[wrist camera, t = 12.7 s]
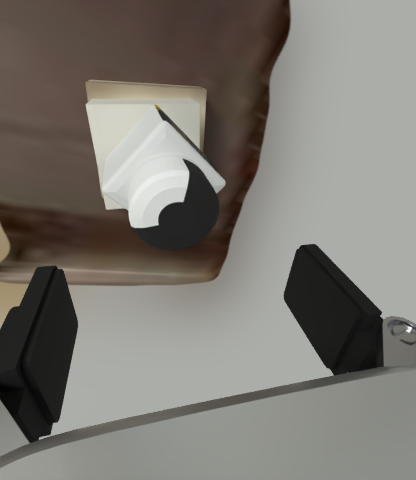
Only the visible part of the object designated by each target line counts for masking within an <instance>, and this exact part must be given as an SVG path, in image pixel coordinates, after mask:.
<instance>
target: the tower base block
mask: <svg viewBox="0 0 416 480" xmlns="http://www.w3.org/2000/svg"><path fill="white" fill-rule="evenodd" d="M85 84H86V90H87V97H88V102H89V101H90V100H91V99H192V100H194V101H196V102H197V103H199V104H200V150H201V151H202V152H203V145H204V128H205V110H206V92H207V89H204V88H202V87H196V86H181V85H165V84H149V83H133V82H118V81H102V80H89V81H86V82H85ZM97 166H98V165H97ZM98 173H99V170H98ZM99 180H100V176H99ZM100 187H101V194H102V198H104V196H103V192H102V186H101V181H100Z"/></svg>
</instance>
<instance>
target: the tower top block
mask: <svg viewBox="0 0 416 480" xmlns="http://www.w3.org/2000/svg"><path fill="white" fill-rule="evenodd" d="M153 105H157V106H159V107H160V108H161V109H162V110H163V111H164V113H165V114H166V115H167V116H168V117H169V118H170V119H171V120H172V121H173V122H174V123H175V124H176V125H177V126H178V127H179V128H180V129H181V130H182V131H183V132H184V133H185V134H186V135H187V137H188V138H189V139H190V140H191V141H192V142H193V143H194V144H195V145H196V146H197V147H198V148H199V149H200V104H199V103H197V102H196V101H194V100H192V99H91V100H90V101H89V102H88V103H87V104H86V109H87V114H88V119H89V124H90V130H91V135H92V140H93V145H94V150H95V155H96V160H97V165H98V170H99V176H100V181H101V186H102V182H103V174H104V166H105V160H106V158H107V157H108V156H109V155H110V154H111V152H112V151H113V150H114V149H115V148H116V147H117V146H118V144H119V143H120V142H121V141H122V140H123V139H124V137H125V136H126V135H127V134H128V133H129V132H130V131H131V129H132V128H133V127H134V126H135V125H136V124H137V123H138V121H139V120H140V119H141V118H142V117H143V116H144V115H145V113H146V112H147V111H148V110H149V109H150V108H151V107H152V106H153ZM103 196H104V201H105V206H106V210H108V209H121V208H124V207H122V206H121V205H119V204H118V203H116V202H115V201H114V200H112V199H111V198H109V197H108V196H106V195H105V194H104V193H103Z"/></svg>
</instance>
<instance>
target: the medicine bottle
mask: <svg viewBox="0 0 416 480" xmlns="http://www.w3.org/2000/svg"><path fill="white" fill-rule="evenodd" d="M224 186H225V180H224V179H223V177H222V176H221V175H220V174H219V172H218V171H217V170H216V168H215V167H214V166H213V164H212V163H211V162H210V160H209V159H208V158H207V157H206V155H205V154H204V153H203V152H202V151H201V150H200V149H199V148H198V147H197V146H196V145H195V144H194V143H193V142H192V141H191V140H190V139H189V138H188V137H187V135H186V134H185V133H184V132H183V131H182V130H181V129H180V128H179V127H178V126H177V125H176V124H175V123H174V122H173V121H172V120H171V119H170V118H169V117H168V116H167V115H166V114H165V113H164V111H163V110H162V109H161V108H160V107H159V106H157V105H153V106H152V107H151V108H150V109H149V110H148V111H147V112H146V113H145V115H144V116H143V117H142V118H141V119H140V120H139V121H138V123H137V124H136V125H135V126H134V127H133V128H132V129H131V131H130V132H129V133H128V134H127V135H126V136H125V137H124V139H123V140H122V141H121V142H120V143H119V144H118V146H117V147H116V148H115V149H114V150H113V151H112V152H111V154H110V155H109V156H108V157H107V158H106V160H105V166H104V174H103V182H102V192H103V193H104V194H105V195H106V196H108V197H109V198H111V199H112V200H114V201H115V202H116V203H118V204H119V205H121V206H122V207H124V208H125V209H126V210H128V211H129V221H130V224H131V227H132V229H133V231H134V232H135V234H136V235H137V236H138V237H139V238H140V239H141V240H142V241H143V242H145V243H146V244H148V245H150V246H152V247H154V248H158V249H162V250H180V249H184V248H187V247H190V246H192V245H195V244H196V243H198V242H200V241H201V240H202V239H204V238H205V237H206V236H207V235H208V234H209V233H210V231H211V230H212V229H213V227H214V225H215V223H216V221H217V218H218V214H219V201H218V197H217V193H218V192H219V191H220V190H221V189H222V188H223V187H224Z"/></svg>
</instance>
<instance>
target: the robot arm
mask: <svg viewBox="0 0 416 480" xmlns="http://www.w3.org/2000/svg"><path fill="white" fill-rule="evenodd" d="M284 300H285V302H286V304H287V306H288V307H289V309H290V310H291V312H292V314H293V315H294V317H295V318H296V320H297V322H298V323H299V325H300V327H301V328H302V330H303V331H304V333H305V334H306V336H307V338H308V339H309V341H310V343H311V344H312V346H313V347H314V349H315V350H316V352H317V354H318V355H319V357H320V358H321V360H322V362H323V363H324V365H325V366H326V367H327V368H329V369H330V370H331V371H332V373H333V374H334V376H330V377H324V378H320V379H314V380H309V381H304V382H300V383H294V384H289V385H285V386H279V387H274V388H270V389H265V390H259V391H255V392H250V393H245V394H240V395H235V396H230V397H225V398H221V399H215V400H211V401H206V402H201V403H196V404H191V405H186V406H182V407H177V408H173V409H167V410H163V411H158V412H153V413H148V414H144V415H139V416H134V417H129V418H125V419H120V420H116V421H111V422H107V423H103V424H99V425H94V426H89V427H85V428H81V429H76V430H72V431H69V432H65V433H62V434H58V435H55V436H50V437H47V438H44V439H41V440H39V437H42V436H47V435H50V434H51V429H52V425H53V423H56V422H58V421H59V418H60V414H61V409H62V404H63V399H64V394H65V389H66V384H67V379H68V374H69V369H70V364H71V359H72V354H73V349H74V344H75V339H76V334H77V328H78V321H77V317H76V313H75V310H74V306H73V302H72V299H71V295H70V292H69V289H68V285H67V281H66V278H65V274H64V271H63V269H58V268H57V267H56V266H44V267H38V268H37V269H36V270H35V273H34V275H33V277H32V279H31V281H30V284H29V286H28V288H27V290H26V292H25V295H24V297H23V299H22V302H21V304H20V306H18V307H13V308H12V309H10V311H9V313H8V314H7V317H6V319H5V321H4V323H3V325H2V327H1V329H0V480H416V324H414V323H413V322H411V321H409V320H406V319H404V318H400V317H394V316H390V317H386V319H384V320H383V319H382V318H381V317H380V315H381V314H382V312H381V311H380V310H379V309H378V308H377V307H376V306H375V305H374V304H373V302H371V300H370V299H369V298H368V297H367V296H366V295H365V294H364V293H363V292H362V291H361V290H360V289H359V288H358V287H357V286H356V285H355V284H354V283H353V282H352V281H351V280H350V279H349V278H348V277H347V276H346V275H345V274H344V273H343V272H342V271H341V270H340V269H339V268H338V267H337V266H336V265H335V264H334V263H333V262H332V261H331V259H329V257H328V256H327V255H326V254H325V253H324V252H323V251H322V250H321V249H320V248H319V247H318V246H317V245H315V244H309V245H302V246H300V248H299V249H297V250H296V253H295V257H294V260H293V264H292V267H291V271H290V274H289V278H288V281H287V285H286V288H285V292H284Z"/></svg>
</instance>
